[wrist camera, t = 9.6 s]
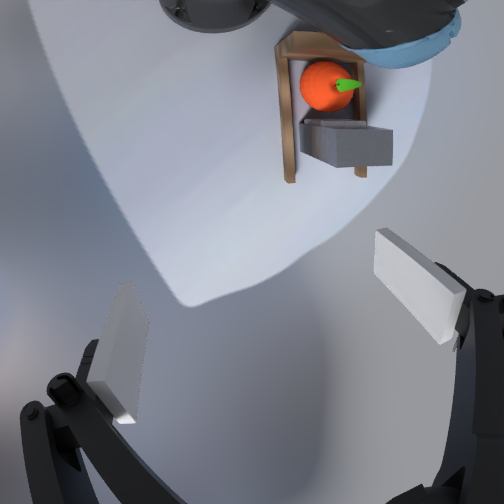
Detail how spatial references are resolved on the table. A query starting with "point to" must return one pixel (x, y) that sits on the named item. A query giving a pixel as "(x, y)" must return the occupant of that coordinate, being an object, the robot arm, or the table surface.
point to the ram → (346, 142)
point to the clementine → (327, 86)
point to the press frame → (313, 49)
